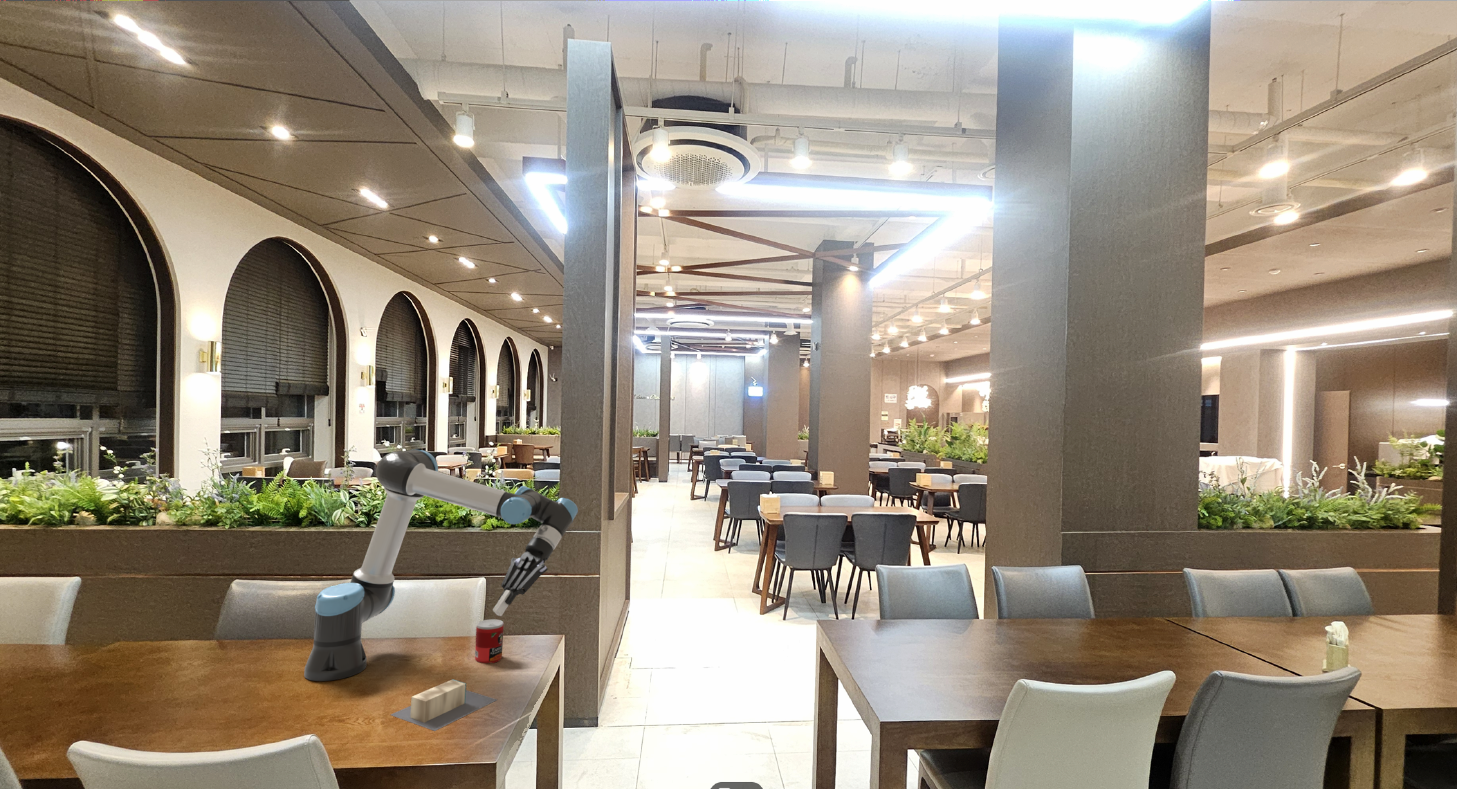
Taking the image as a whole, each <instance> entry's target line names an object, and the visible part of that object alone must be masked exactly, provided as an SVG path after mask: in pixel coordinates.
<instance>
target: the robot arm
mask: <svg viewBox="0 0 1457 789" xmlns="http://www.w3.org/2000/svg"><path fill="white" fill-rule="evenodd" d="M375 476H376V479H377V481H378V483H379V484H380V485H381V486H382V487H383V489H384V491H385V492H386V497H385V500H384V503H383V506H382V508H381V511H380V514H379V517H378V519H377V522H376V525H375V529H374V531H373V533H372V536H371V540H370V542H369V545H368V548H367V551H366V552H365V557H364V559H363V562H362V564H361V567H360V568H358V569H356V570H355V571H353V574H352V576H351V580H350V582H344V583H343V582H342V583H339V584H336V585H332V586H327V587H325V588H324V589H322V590H321V591H320V592H319V593H318V595H317V596H316V602H315V605H314V611H315V612H314V630H313V646H312V650H310V651H311V652H310V654H309V656H308V659H307V661H306V664H305V666H304V674H303V676H304V678H305V679H307V680H309V681H315V682H328V681H330V682H331V681H336V680H340V679H341V680H342V679H346V678H349V677H352V676H355V675H357V674H359V673H361V672H363V671H364V670H365V669H366V668H367V662H368V661H367V659H368V658H367V655H366V651H365V648H364V645H363V642H362V630H363V629H362V627H363V623H365V622H367V621H369V620H371V619H373V618H374V617H376V616H378V615H380V614H382V613H383V612H384V611H386V609H388V608H389V607H390V605H392V602H393V601H394V598H395V595H396V594H395V593H396V589H395V586H394V582H395V576H394V574H393V573H392V572H393V569H394V566H395V564H396V560H397V558H398V555H399V552H400V549H401V546H402V544H403V540H404V537H405V535H406V532H407V528H408V527H409V523H410V521H411V517H412V516H413V512H414V510H415V506H416V503H417V501H418V500H419V501H420V500H421V499H423V498H424V496H425V497H429V498H432V499H435V500H439V501H442V502H445V503H449V504H452V505H456V506H459V507H463V508H466V509H470V510H474V511H477V512H480V513H483V514H487V515H491V516H494V517H498V518H501V519H503V521H504V522H506V523H508V524H511V525H516V524H522V523H524V522H525V521H527V520H528V519H531V518H532V519H533V520H536V521H537V522H540V523H541V525H539V527H538V529H537V530H536V532H535V533H534V534H533V537H532V538H531V539H530V540H529V542H528V543H527V545H526V546H525V551H524V553H522V554H521V556H520V557H518V558H515V557H512V558H511V560H510V565H509V567H508V569H507V572H506V574H505V576H504V578H503V580H502V583H501V584H500V586H501V587H502V588H503V591H502V593H501V594H500V596H499V598H498V601H497V603H496V604H495V606H493V608H492V612H493V613H494V614H495V615H496V616H499V617H502V616H503V614H504V613H505V611H506V610H507V608H508V606H510V605H511V604H512V603H513V602H514V600H515V598H516V597H517V596H519V595H522V596H523V595H525V593H526V592H527V591H528V590H529V589H530V588H531V587H532V586H533V585H534V583H535V582H536V581H538V579H540V577H541V576H542V575H543V574H544V573H546V572H547V571H548V570H549V569H548V567H547V566H546V564H545V563H546V562H547V561H548V560H549V558H550V556H551V555H552V554H553V552H554V550H555V549H556V547H557V546H558V544H559V543H560V541H561V539H562V538H563V536H564V535H565V534H566V532H567V530H568V529H569V527H570V526H571V525H572V524H573V522H574V519H575V518H576V516H577V514H578V513H579V511H578V510H579V509H578V506H577V504H576V503H575V502H574V501H572V500H571V499H569V498H565V497H560V498H558V500H556V501H555V500H553V499H550V498H549V497H547V496H545V495H543V494H541V493H540V492H538V491H536V490H534V489H533V488H530V487H527V486H525V485H522V486H520V487H518V489H517V490H516V491H515V493H512V492H510V491H509V492H508V491H505V490H503V489H498V488H495V487H491V486H488V485H485V484H481V483H478V482H474V481H471V480H467V479H464V478H461V477H457V476H453V475H450V474H447V473H443V472H440V471H439V466H438V462H437V459H436V458H435V457H434V456H433V455H432V454H431V453H430V452H427V451H426V450H421V449H415V448H414V449H410V450H399V451H392V452H390V453H387V454H386V455H384V456H383V457H382V458H381V459H380V460H379V461H378V463H377V465H376V469H375Z"/></svg>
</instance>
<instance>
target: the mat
mask: <svg viewBox="0 0 1457 789" xmlns="http://www.w3.org/2000/svg"><path fill="white" fill-rule="evenodd" d="M497 701H498V699H497V698H495V697H494V698H493V697H490V696H486V695H484V694H481V693H478V692H473V691H470V690H468V689H466V700H465V704H463V705H460V706H458V707H456V708H454V709H452V710H450V711H448V712H446V713H444V714H441V715H439V716H437V717H435V718H433V719H431V720H429V721H427V722H425V723H424V722H421V721H418V720H416V719H413V718H410V716H411V705H409V706H407V707H405V708H403V709H400V710H398V711H395V712H393V713H391V714H390V716H393V717H395V718H397V719H400V720H403V721H406V722H407V723H408V722H409V723H411V724H414V725H417V726H419V727H422V728H424V729H425V728H426V729H428V730H431V731H434V732H436V731H438V730H441V729H442V728H444V727H446V726H448V725H449V724H452V723H454V722H456V721H458V720H460V719H462V718H464V717H466V716H468V715H471V714H472V713H475V712H476V711H478V710H481V709H483V708H484V707H486V706H488V705H490V704H492V703H494V702H497Z"/></svg>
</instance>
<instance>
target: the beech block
mask: <svg viewBox="0 0 1457 789" xmlns="http://www.w3.org/2000/svg"><path fill="white" fill-rule="evenodd" d="M466 690H467V683H466V682H463V681H460V680H456V679H451V680H448V681H445V682H443V683H441V684H438V685H436V686H434V687H431V688H429V689H426V690H423V691H422V692H420V693H417V694H415V695H413V696H411V699H410V700H411V701H410V703H411V704H410V706H411V716H410V718H413V719H416V720H418V721H421V722H424V723H425V722H427V721H429V720H431V719H433V718H435V717H437V716H439V715H441V714H444V713H446V712H448V711H450V710H452V709H454V708H456V707H458V706H460V705H463V704H465V700H466Z"/></svg>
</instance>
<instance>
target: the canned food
mask: <svg viewBox="0 0 1457 789" xmlns="http://www.w3.org/2000/svg"><path fill="white" fill-rule="evenodd" d="M475 628H476V629H475V646H474V647H475V649H474V652H475V653H474V660H475V661H476V662H477V663H481V664H488V663H489V664H490V663H491V664H495V663H498V662H500V661H501V659H502V657H503V644H504V621H502V620H500V619H494V618H492V619H483V620H480V621H478V622H477V623H476V627H475Z"/></svg>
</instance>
